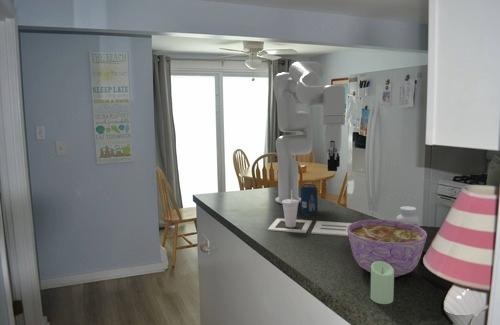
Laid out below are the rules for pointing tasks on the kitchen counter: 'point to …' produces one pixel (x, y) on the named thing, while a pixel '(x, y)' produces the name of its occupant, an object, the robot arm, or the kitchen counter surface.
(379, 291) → the candle
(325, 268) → the kitchen counter surface
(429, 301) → the kitchen counter surface
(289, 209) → the smoothie
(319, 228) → the pads
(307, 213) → the soda can
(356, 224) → the bowl of food
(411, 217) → the supplement bottle
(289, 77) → the robot arm
